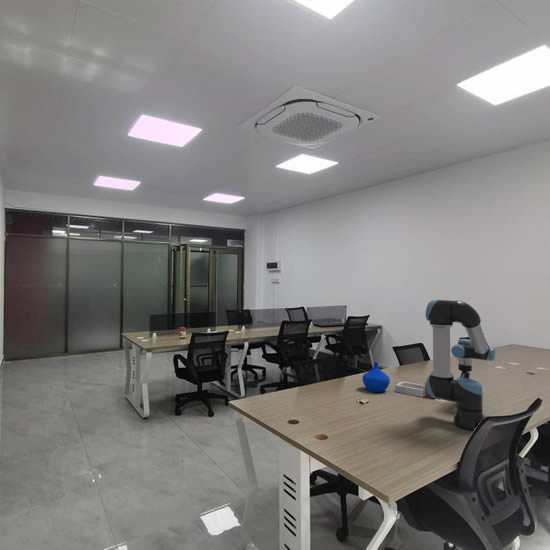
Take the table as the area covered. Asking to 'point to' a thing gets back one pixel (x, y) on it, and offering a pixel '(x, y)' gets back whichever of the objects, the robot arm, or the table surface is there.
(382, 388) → the vase
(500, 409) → the table surface
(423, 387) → the lane
